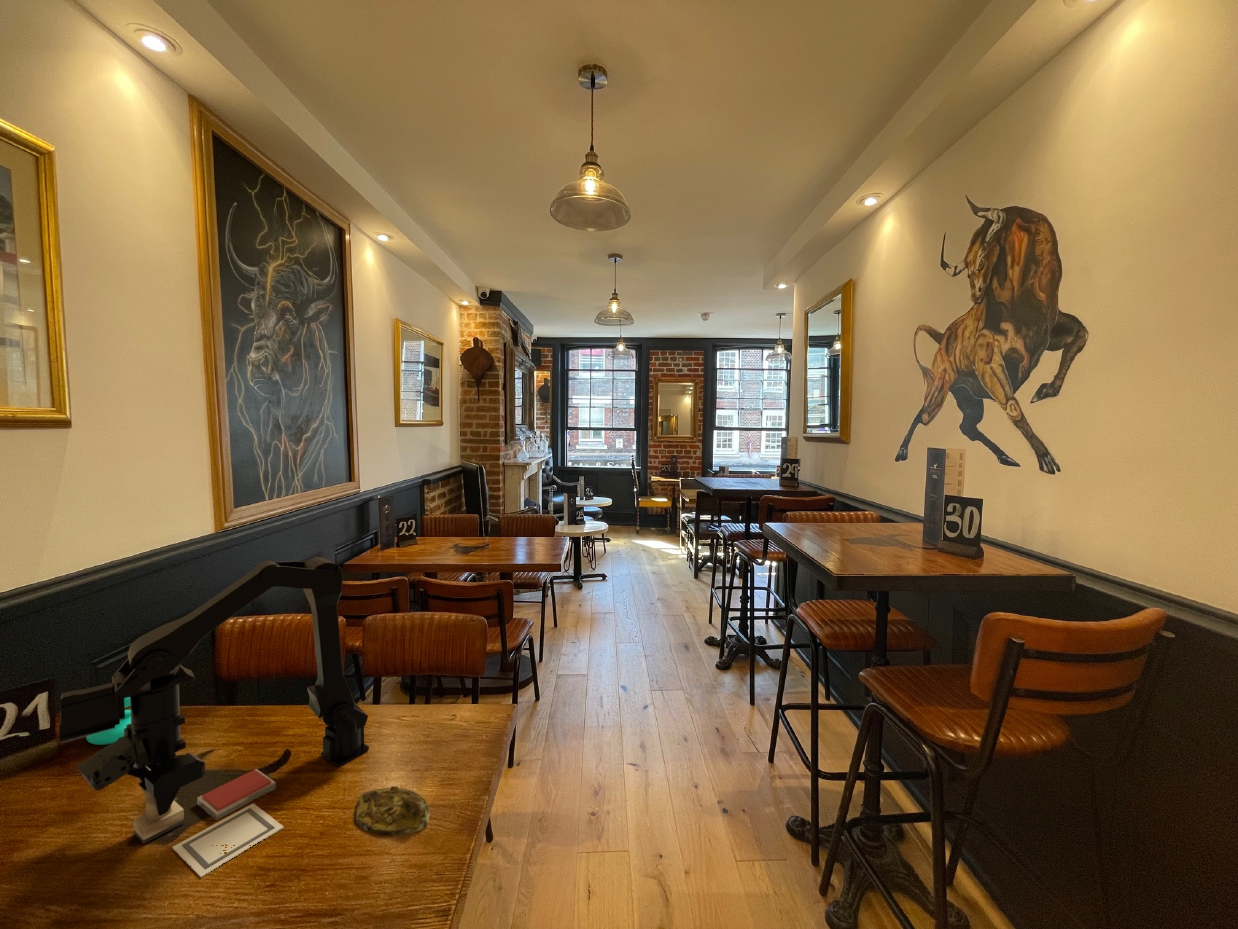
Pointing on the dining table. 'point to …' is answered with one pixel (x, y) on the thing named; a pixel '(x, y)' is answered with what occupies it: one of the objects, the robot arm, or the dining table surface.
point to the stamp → (157, 820)
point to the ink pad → (235, 794)
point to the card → (226, 839)
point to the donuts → (115, 733)
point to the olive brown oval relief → (392, 811)
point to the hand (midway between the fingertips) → (158, 809)
